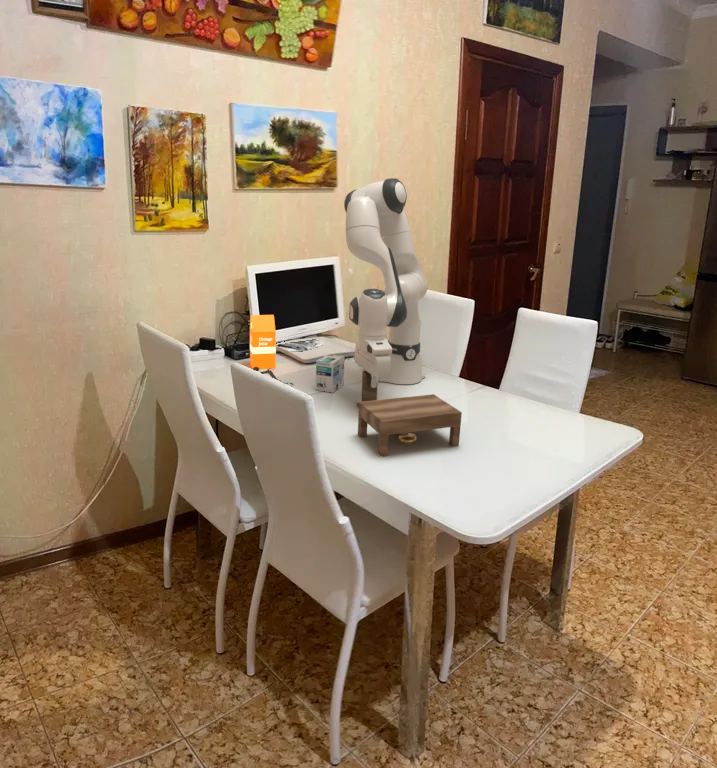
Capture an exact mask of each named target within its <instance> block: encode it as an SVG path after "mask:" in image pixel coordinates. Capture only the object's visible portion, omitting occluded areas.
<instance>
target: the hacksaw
mask: <svg viewBox="0 0 717 768" xmlns="http://www.w3.org/2000/svg"><path fill="white" fill-rule="evenodd" d="M253 369H254V370H253ZM253 369H252V370H253V371H255V370H256V371H259V372H261V374H267V373H268V374H269V375H270V377H272V379H273V378H275V379H277V380H279V379H278V377H277V376H276V375H275V374H274V373H273V372H272V369H271V368H270V369H266V370H263V371H260V369H259V368H258V367H254V368H253ZM279 381H281V382H282V380H279ZM288 383H290V385H291V386H292V385H293V386H294V383H292V382H284V385H285V384H287V385H289V384H288Z"/></svg>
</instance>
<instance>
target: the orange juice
mask: <svg viewBox="0 0 717 768" xmlns="http://www.w3.org/2000/svg"><path fill="white" fill-rule="evenodd" d="M274 315H275V314H256V315H253V314H252V315H250V323H249V358H250V359H249V364H250V367H251V368H252V370H253V368H254V367H258V368H259V370H265V369H266V370H267V369H269V370H273V369H276V363H277V362H276V361H277V359H276V358H277V357H276V355H277V354H276V353H277V349H276V343H277V341H276V339H277V338H276V337H277V335H276V333H277V332H276V324H275V322H276V321H275V316H274ZM270 368H271V369H270Z"/></svg>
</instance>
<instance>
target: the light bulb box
mask: <svg viewBox="0 0 717 768" xmlns="http://www.w3.org/2000/svg"><path fill="white" fill-rule="evenodd" d="M345 358H346V357H344V356H338V355H332V354H327V355H326V356H324V357H322V358H321V359H319V360H317V361H316V362H315V363H316V364H315V366H316V368H315V375H316V376H315V391H318V390H319V391H318V392H324V391H325V393H330V392H331V393H335V392H336V391H338V390H339V389H341V388H342V387H344V386H345V385H344V383H345V362H346V361H345V360H346V359H345Z"/></svg>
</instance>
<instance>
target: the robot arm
mask: <svg viewBox="0 0 717 768" xmlns="http://www.w3.org/2000/svg"><path fill="white" fill-rule="evenodd" d="M407 194H408V193H407V190H406V187H405V185H404V184H403V182H402V181H400V179H398V178H396V177H395V178H393V177H391V178H385V180H378V181H375V182H371V183H369V184H366V185H363V186H361V187H360V188H358V189H353V190H351V191H350V192H348V193H347V194H346V196H345V199H344V201H343V202H344V203H343V204H344V211H345V214H346V215H345V240H346V245H347V249H348V250H349V252H350V253H351V254H352V255H353V256H354V257H356V258H357V259H359V260H362V261H363V262H366V263H369V264H371V265H373V266H374V267H377V268H378V269H379V270H380V271H381V273H382V275H383V280H384V285H385V288H384V291H383V290H382V289H378V288H367V289H364V290H363V291H362V292H361V294H360V295H358V296H355V297H353V299H352V300H351V301H350V302H349V312H348V313H349V315H348V317H349V320H350V321H351V322H352V323H353V324H354V325H356V326H359V329H358V333H357V336H358V337H357V342H356V344H355V347H354V348H355V355H354V362H355V364H357V365H358V366H359V367H360V368H362V369H361V370H362V371H361V372H363V371H367V372H368V373H370V374H371V377H372V380H371V381H370V386H371V387H372V388H376V387H377V388H378V382H381V383H382V382H383V383H390V384H396V385H413V384H418V383H420V382H422V379H424V378H425V377H426V374H425V373H423V356H422V355H421V354H420V352H421V342H420V340H421V339H420V337H421V336H420V335H421V322H422V321H421V319H420V316H419V308H418V307H419V306H418V304H419V303H418V302H419V301H420V300H421V299H423V298H424V296H425V295H426V294H427V291H428V289H429V281H428V278H427V277H426V276H425V274H424V271H423V268H422V266H421V264H420V262H419V259H418V255H417V253H416V249H415V244H414V241H413V240H414V239H413V235H412V231H411V226H410V223H409V220H408V216H407V215H406V212H405V209H404V208H405V206H406V204H407V203H406V202H407V199H408V198H407V197H408V196H407ZM387 327H389V333H388V334H389V335H388V338H387ZM377 381H378V382H377Z"/></svg>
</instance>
